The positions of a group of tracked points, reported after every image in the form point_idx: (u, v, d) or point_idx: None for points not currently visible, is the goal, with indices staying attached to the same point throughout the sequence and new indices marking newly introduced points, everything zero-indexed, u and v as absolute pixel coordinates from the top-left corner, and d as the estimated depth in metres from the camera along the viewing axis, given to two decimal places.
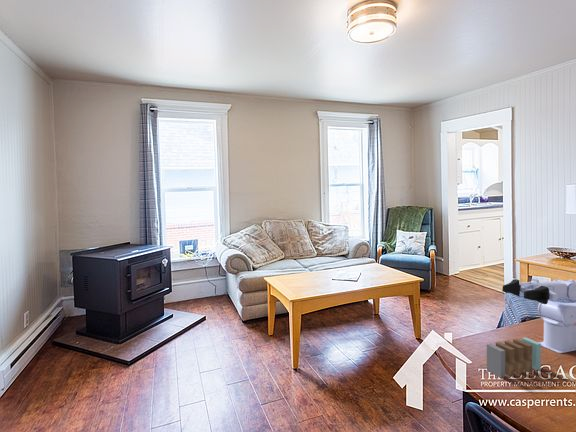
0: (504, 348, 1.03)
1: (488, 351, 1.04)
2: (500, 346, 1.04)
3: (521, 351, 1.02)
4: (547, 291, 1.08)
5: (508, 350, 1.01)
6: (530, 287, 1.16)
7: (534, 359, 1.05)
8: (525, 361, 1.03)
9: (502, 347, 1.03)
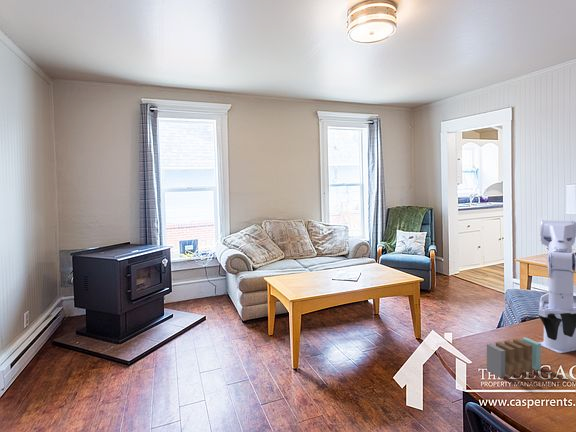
0: (504, 348, 1.03)
1: (488, 351, 1.04)
2: (500, 346, 1.04)
3: (521, 351, 1.02)
4: None
5: (508, 350, 1.01)
6: None
7: (534, 359, 1.05)
8: (525, 361, 1.03)
9: (502, 347, 1.03)
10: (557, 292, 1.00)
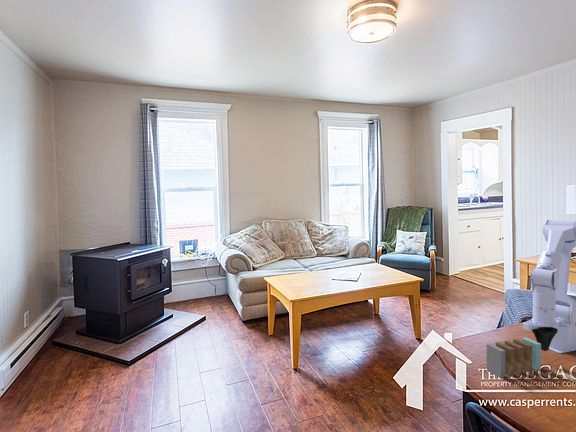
0: (504, 348, 1.03)
1: (488, 351, 1.04)
2: (500, 346, 1.04)
3: (521, 351, 1.02)
4: None
5: (508, 350, 1.01)
6: None
7: (534, 359, 1.05)
8: (525, 361, 1.03)
9: (502, 347, 1.03)
10: (538, 306, 1.06)
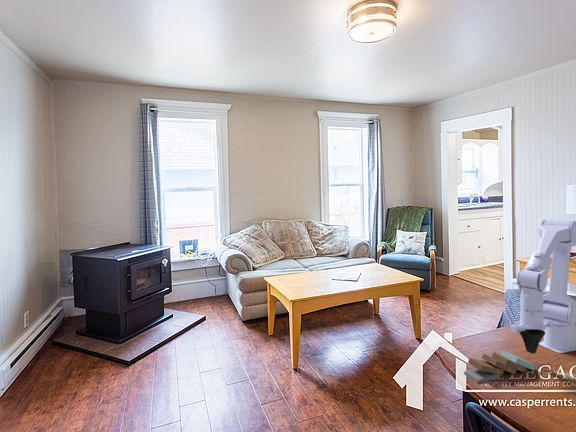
0: None
1: None
2: None
3: (499, 364, 1.00)
4: None
5: None
6: None
7: None
8: (515, 368, 1.03)
9: None
10: (524, 308, 1.05)
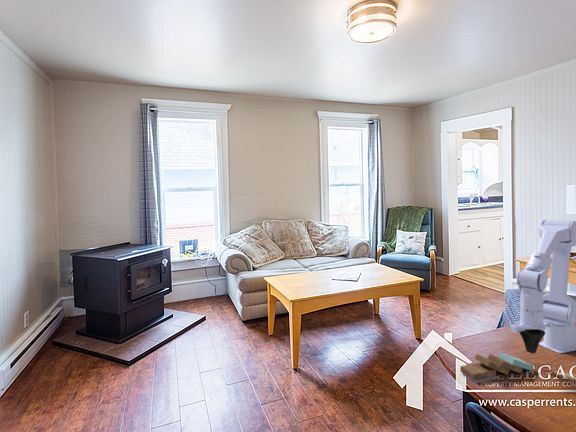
0: None
1: None
2: None
3: (492, 364, 1.00)
4: None
5: None
6: None
7: None
8: (511, 369, 1.02)
9: None
10: (524, 308, 1.05)
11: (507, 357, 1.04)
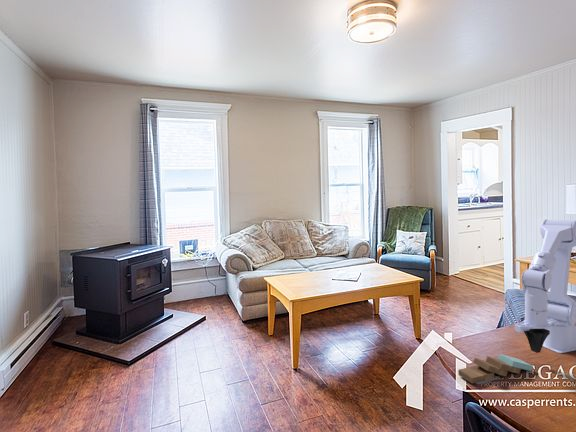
0: None
1: None
2: None
3: (491, 368, 0.99)
4: None
5: None
6: None
7: None
8: (510, 371, 1.02)
9: None
10: (529, 308, 1.05)
11: (506, 359, 1.03)
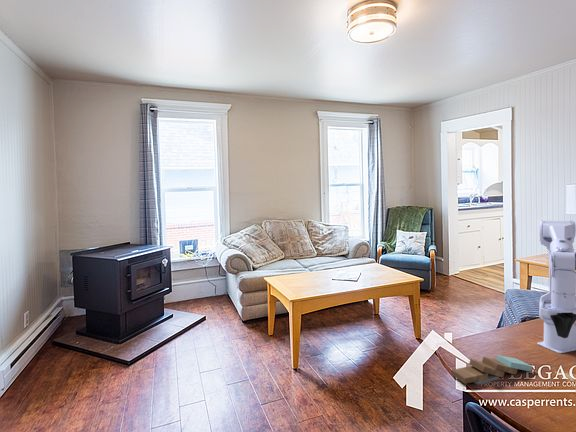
0: None
1: None
2: None
3: (486, 369, 0.99)
4: None
5: None
6: None
7: None
8: (506, 371, 1.02)
9: None
10: (560, 292, 1.00)
11: (505, 360, 1.03)
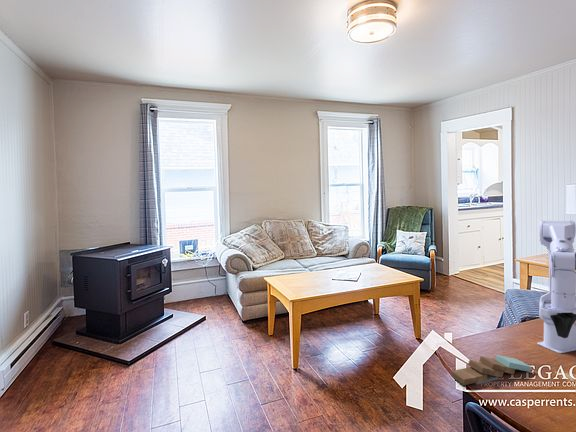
0: None
1: None
2: None
3: (485, 370, 0.99)
4: None
5: None
6: None
7: None
8: None
9: None
10: (560, 292, 1.00)
11: (503, 360, 1.03)
